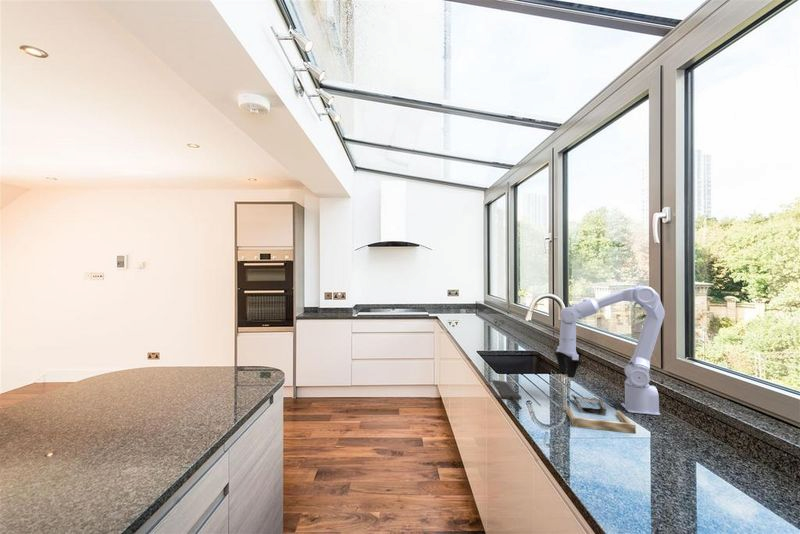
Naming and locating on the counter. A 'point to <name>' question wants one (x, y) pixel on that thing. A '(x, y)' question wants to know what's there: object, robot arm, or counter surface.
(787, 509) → the counter surface
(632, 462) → the counter surface
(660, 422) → the counter surface
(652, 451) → the counter surface
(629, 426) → the oak frame
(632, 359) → the robot arm
